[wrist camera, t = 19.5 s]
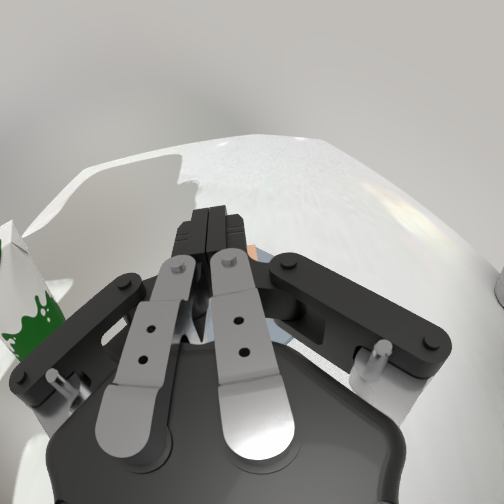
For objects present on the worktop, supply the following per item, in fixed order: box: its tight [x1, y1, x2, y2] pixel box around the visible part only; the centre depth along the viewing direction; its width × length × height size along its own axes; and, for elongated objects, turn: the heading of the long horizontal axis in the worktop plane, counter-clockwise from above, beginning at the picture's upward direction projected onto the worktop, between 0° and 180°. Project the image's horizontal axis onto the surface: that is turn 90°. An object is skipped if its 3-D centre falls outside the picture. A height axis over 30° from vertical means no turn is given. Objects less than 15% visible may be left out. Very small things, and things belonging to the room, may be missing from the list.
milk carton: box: [0, 220, 66, 362], centre depth 24 cm, size 9×9×20 cm
